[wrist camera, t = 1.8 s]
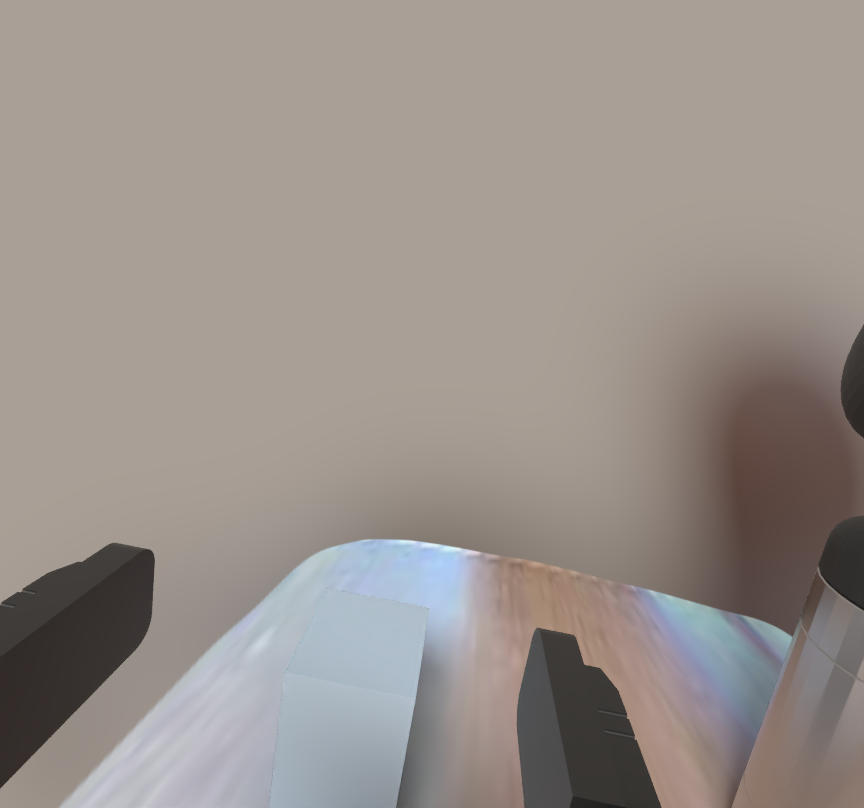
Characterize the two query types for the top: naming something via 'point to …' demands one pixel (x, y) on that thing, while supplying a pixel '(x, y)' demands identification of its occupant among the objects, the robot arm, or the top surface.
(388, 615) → the tall pale blue box
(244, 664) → the top surface
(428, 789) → the top surface
